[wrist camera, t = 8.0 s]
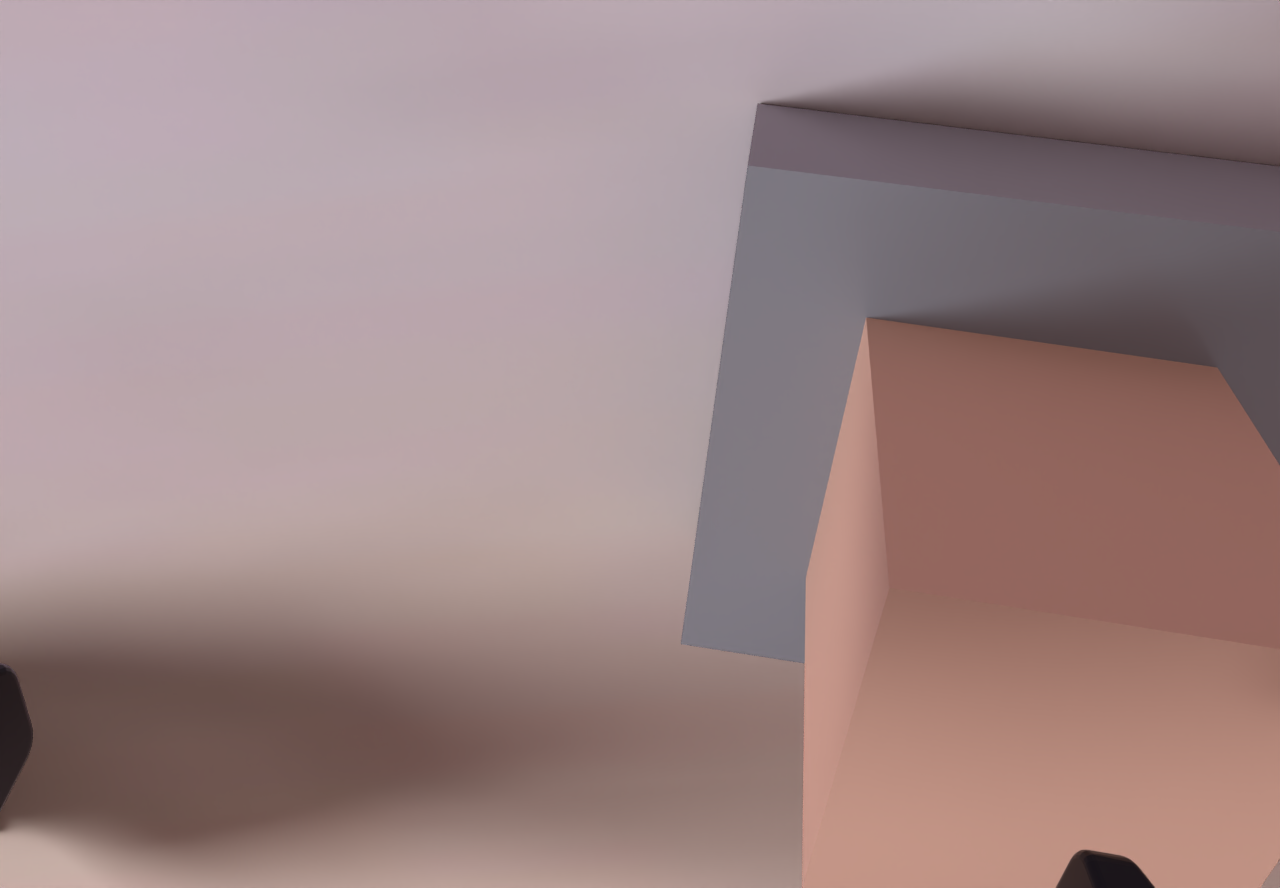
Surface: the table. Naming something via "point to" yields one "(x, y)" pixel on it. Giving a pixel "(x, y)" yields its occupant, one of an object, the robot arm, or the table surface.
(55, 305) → the table surface
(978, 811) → the cube
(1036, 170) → the plinth
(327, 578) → the table surface
